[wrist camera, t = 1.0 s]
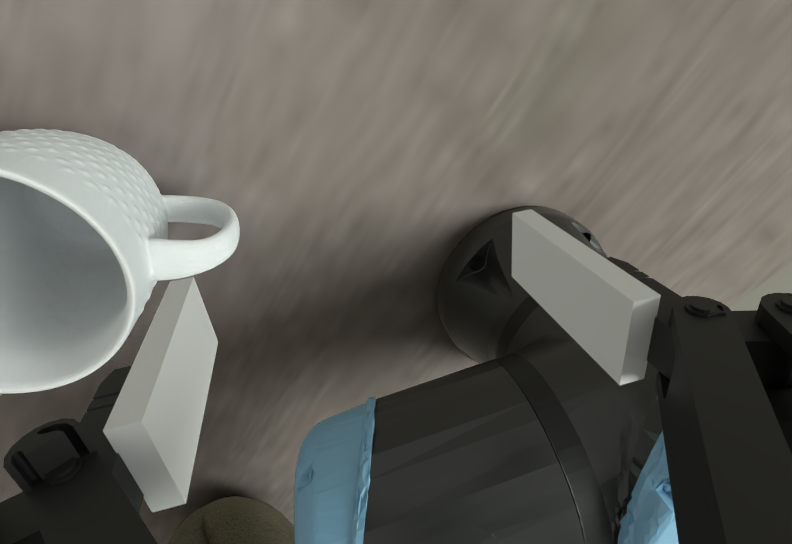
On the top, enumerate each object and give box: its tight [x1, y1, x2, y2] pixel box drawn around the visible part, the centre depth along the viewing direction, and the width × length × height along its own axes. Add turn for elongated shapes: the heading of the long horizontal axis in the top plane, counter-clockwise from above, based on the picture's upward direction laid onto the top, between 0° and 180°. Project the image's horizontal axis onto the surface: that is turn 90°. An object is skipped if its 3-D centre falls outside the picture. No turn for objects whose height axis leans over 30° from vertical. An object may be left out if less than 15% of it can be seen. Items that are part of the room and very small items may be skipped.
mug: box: [0, 129, 240, 393], centre depth 25 cm, size 15×11×13 cm
